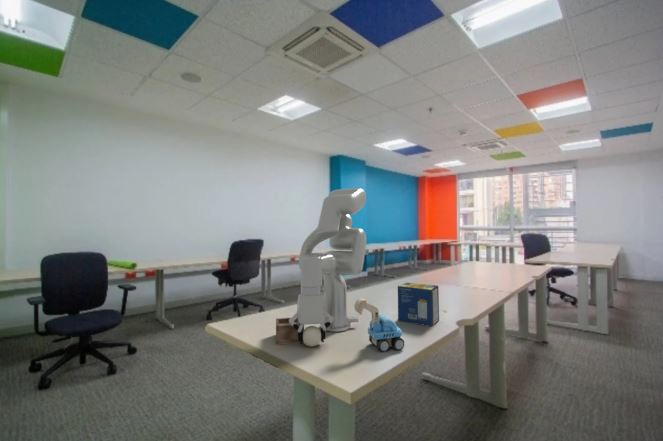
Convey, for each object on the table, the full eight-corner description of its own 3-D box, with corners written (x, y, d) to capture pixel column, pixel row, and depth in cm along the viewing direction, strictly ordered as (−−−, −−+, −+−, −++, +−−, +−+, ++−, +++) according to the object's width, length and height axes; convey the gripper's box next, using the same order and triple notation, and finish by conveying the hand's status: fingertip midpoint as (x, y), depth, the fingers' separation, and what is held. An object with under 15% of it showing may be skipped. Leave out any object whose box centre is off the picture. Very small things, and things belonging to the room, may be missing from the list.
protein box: (406, 315, 145) (406, 282, 146) (439, 320, 136) (438, 285, 137) (397, 320, 137) (396, 285, 137) (432, 326, 128) (431, 289, 128)
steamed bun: (321, 341, 111) (321, 322, 112) (321, 349, 104) (321, 329, 104) (302, 341, 111) (302, 323, 111) (301, 349, 104) (301, 329, 104)
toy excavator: (351, 345, 107) (351, 296, 108) (394, 340, 112) (393, 293, 112) (360, 355, 99) (359, 302, 99) (406, 349, 103) (405, 298, 104)
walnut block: (301, 333, 121) (301, 317, 121) (304, 342, 111) (304, 324, 111) (276, 335, 119) (276, 318, 119) (276, 345, 109) (276, 326, 109)
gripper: (333, 287, 113) (334, 336, 113) (286, 289, 110) (286, 339, 110) (337, 291, 106) (338, 343, 106) (287, 293, 103) (287, 347, 102)
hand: (311, 341), depth 108 cm, fingers closed on steamed bun, 6 cm apart
